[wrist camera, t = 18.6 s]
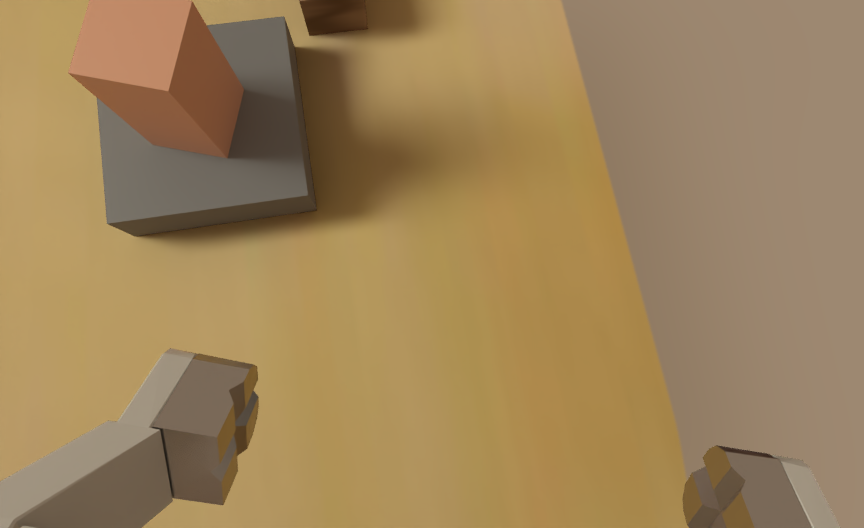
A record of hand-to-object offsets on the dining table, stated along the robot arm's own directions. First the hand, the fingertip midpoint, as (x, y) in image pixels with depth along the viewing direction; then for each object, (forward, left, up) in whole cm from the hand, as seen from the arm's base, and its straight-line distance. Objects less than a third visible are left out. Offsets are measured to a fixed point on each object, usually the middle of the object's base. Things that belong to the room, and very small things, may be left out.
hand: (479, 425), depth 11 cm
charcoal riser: (-12, +19, -31) cm, 39 cm away
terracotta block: (-12, +19, -27) cm, 36 cm away
